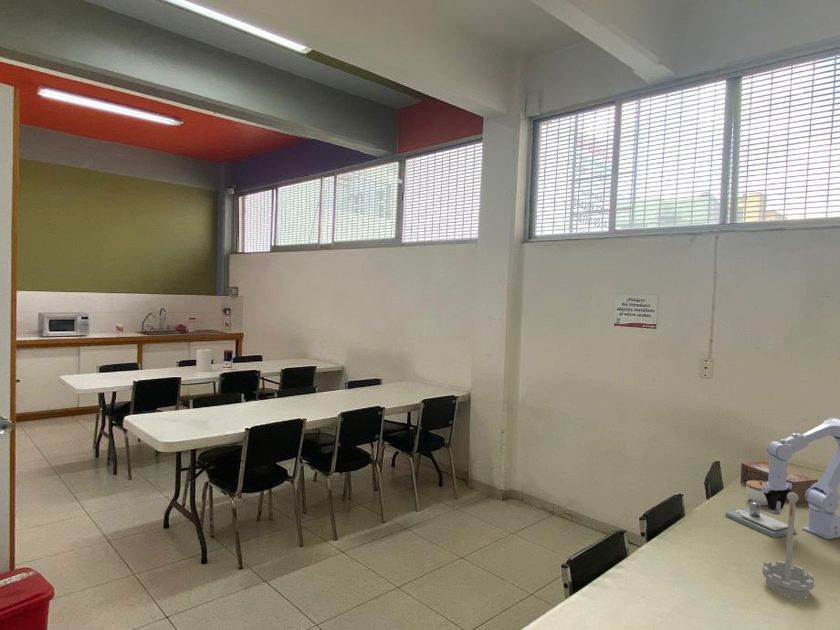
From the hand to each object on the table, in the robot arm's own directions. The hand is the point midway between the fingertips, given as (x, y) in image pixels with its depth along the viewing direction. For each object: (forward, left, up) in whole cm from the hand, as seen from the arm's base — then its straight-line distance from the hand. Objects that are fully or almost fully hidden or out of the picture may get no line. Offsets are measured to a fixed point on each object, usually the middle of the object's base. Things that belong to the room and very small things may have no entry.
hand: (775, 508), depth 203 cm
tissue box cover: (+27, -42, -9) cm, 51 cm away
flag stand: (-29, +36, -9) cm, 47 cm away
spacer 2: (0, 0, -2) cm, 2 cm away
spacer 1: (+8, 0, -6) cm, 10 cm away
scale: (+6, 0, -9) cm, 10 cm away
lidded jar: (+21, -22, -9) cm, 32 cm away
